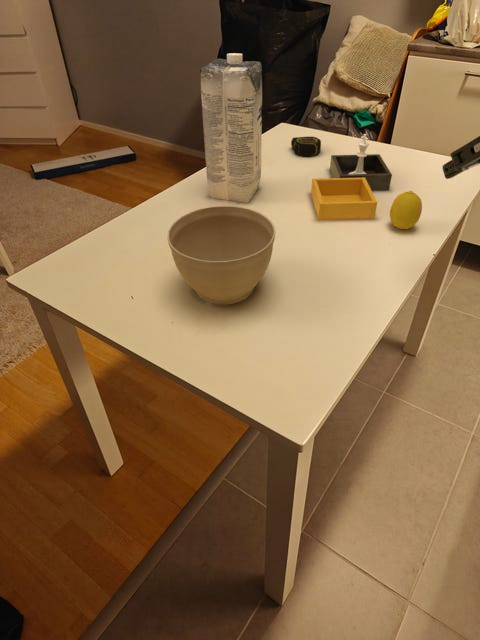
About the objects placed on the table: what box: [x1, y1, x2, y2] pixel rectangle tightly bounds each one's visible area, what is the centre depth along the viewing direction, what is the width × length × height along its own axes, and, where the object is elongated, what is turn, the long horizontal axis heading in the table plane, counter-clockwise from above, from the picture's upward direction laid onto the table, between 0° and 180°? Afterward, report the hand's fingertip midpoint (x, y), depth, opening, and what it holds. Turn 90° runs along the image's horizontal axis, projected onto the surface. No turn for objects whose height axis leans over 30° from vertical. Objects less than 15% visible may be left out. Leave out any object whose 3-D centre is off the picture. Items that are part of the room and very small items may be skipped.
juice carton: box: [199, 52, 263, 204], centre depth 92 cm, size 9×10×27 cm
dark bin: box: [329, 153, 393, 192], centre depth 103 cm, size 11×11×4 cm
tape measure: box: [290, 136, 322, 157], centre depth 115 cm, size 7×7×4 cm
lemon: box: [389, 190, 423, 230], centre depth 86 cm, size 6×6×8 cm
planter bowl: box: [166, 205, 276, 305], centre depth 72 cm, size 16×16×11 cm
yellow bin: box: [310, 177, 378, 221], centre depth 94 cm, size 11×11×4 cm
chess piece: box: [349, 133, 369, 174], centre depth 101 cm, size 5×5×10 cm
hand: (468, 167), depth 70 cm, fingers open, 8 cm apart
